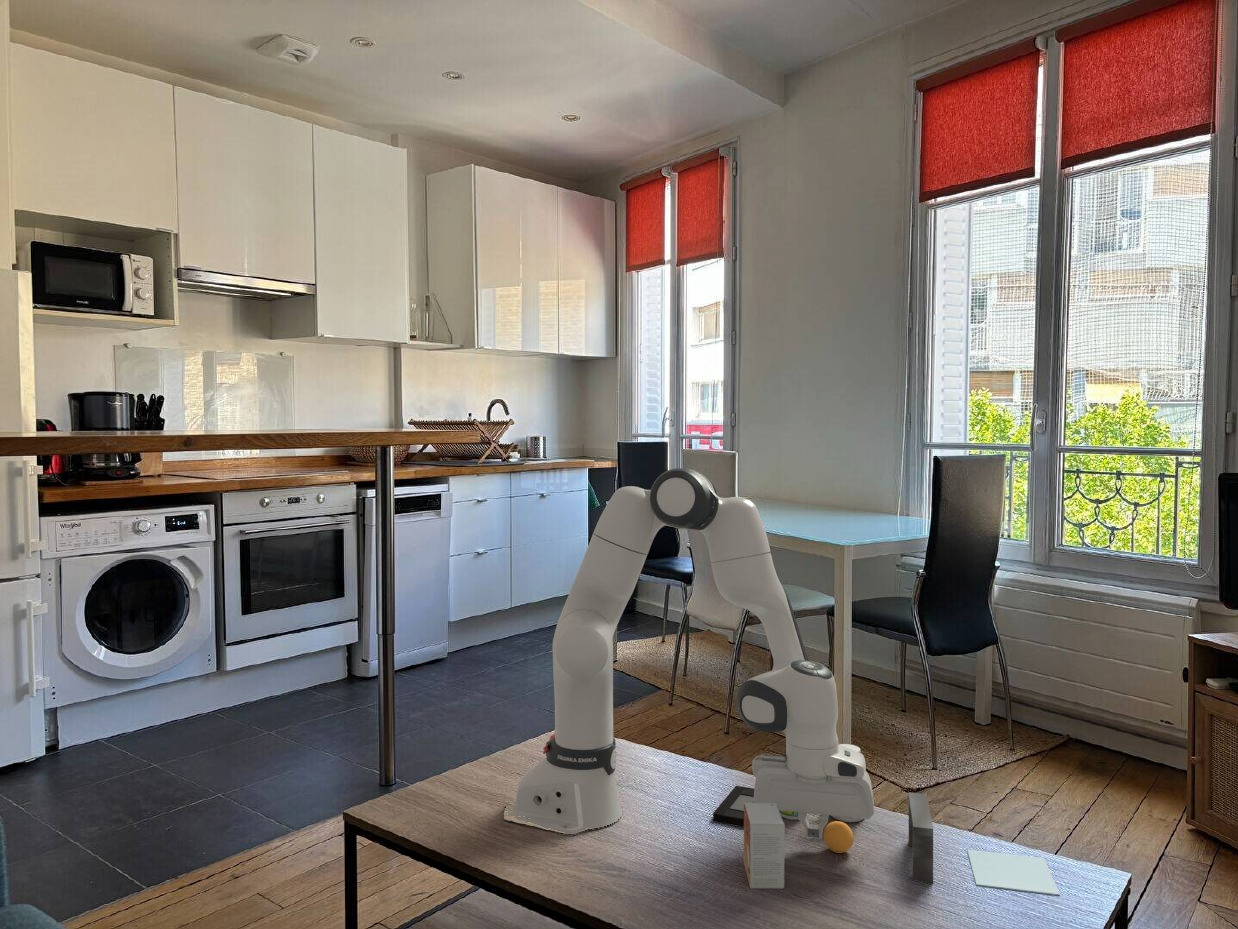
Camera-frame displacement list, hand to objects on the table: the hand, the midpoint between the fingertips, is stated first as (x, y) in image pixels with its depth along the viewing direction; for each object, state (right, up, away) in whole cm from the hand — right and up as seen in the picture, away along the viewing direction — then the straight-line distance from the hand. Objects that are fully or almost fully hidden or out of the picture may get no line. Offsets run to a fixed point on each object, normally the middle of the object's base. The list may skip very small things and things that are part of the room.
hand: (813, 837), depth 148 cm
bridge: (+17, -2, -5) cm, 18 cm away
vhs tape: (-10, -3, +16) cm, 19 cm away
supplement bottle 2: (+9, -2, +13) cm, 16 cm away
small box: (-10, -3, -9) cm, 14 cm away
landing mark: (+30, -2, -8) cm, 32 cm away
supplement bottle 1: (-1, -2, +14) cm, 14 cm away
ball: (+4, 0, -1) cm, 4 cm away
